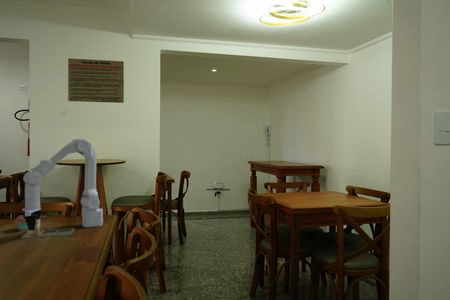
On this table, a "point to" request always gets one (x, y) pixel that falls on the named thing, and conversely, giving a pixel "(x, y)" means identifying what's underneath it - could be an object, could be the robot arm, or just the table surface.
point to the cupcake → (21, 223)
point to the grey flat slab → (50, 233)
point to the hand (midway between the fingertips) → (33, 228)
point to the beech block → (37, 228)
